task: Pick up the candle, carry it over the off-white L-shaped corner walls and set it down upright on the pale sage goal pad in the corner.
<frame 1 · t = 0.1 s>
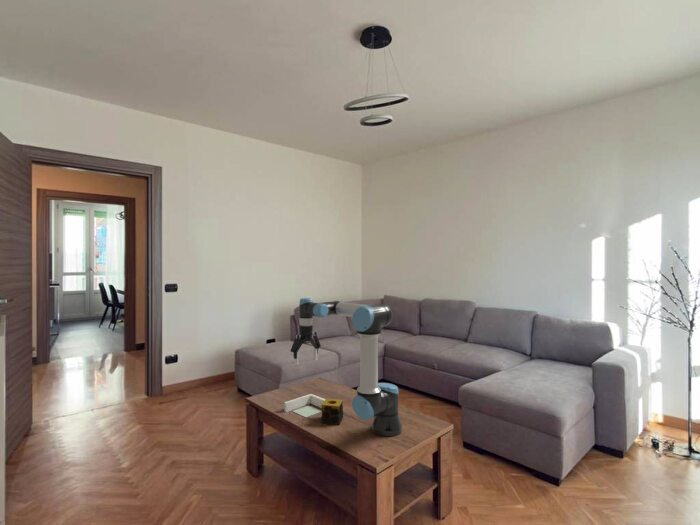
hand: (306, 361, 220), 28 cm above the table, fingers open, 13 cm apart
goal pad: (307, 411, 218), on the table
candle: (332, 421, 206), on the table
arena: (308, 411, 219), on the table
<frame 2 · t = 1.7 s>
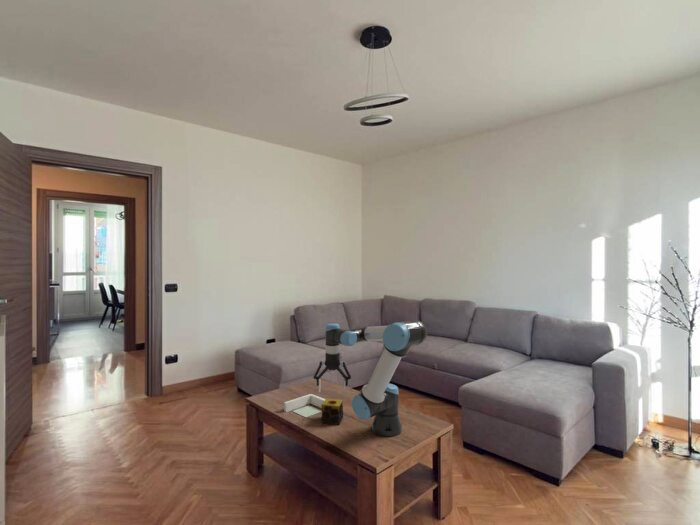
hand: (332, 391, 206), 15 cm above the table, fingers open, 13 cm apart
nothing on the table moved.
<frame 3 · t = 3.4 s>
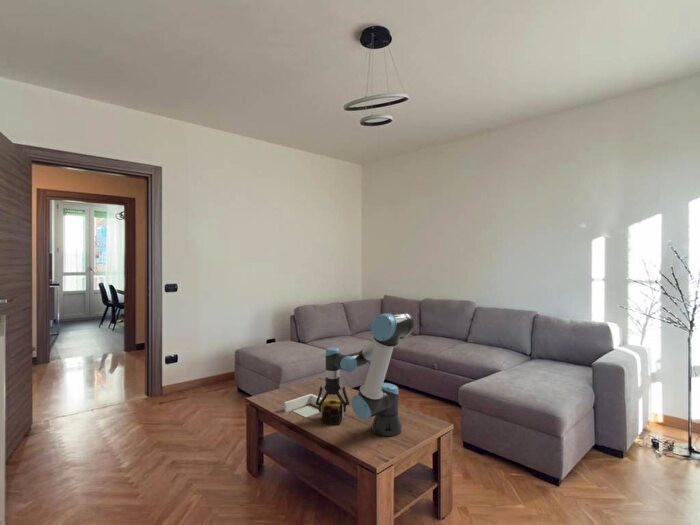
hand: (332, 417, 206), 1 cm above the table, fingers closed on candle, 11 cm apart
candle: (332, 420, 206), on the table, touching gripper
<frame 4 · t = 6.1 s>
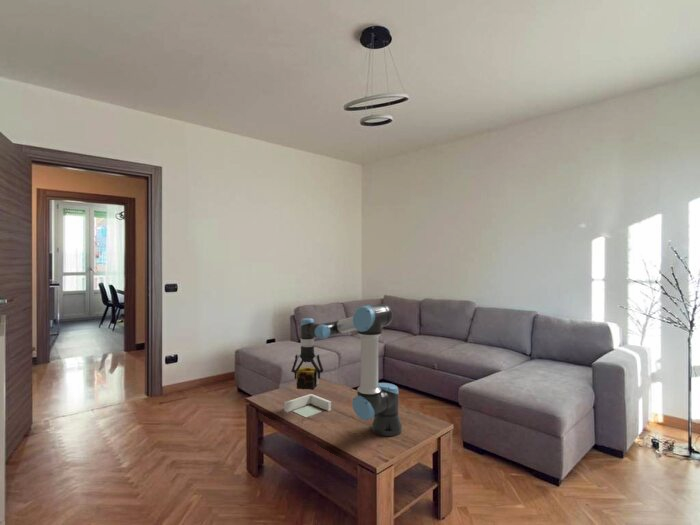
hand: (307, 384, 218), 16 cm above the table, fingers closed on candle, 11 cm apart
candle: (307, 387, 218), point 14 cm above the table, touching gripper
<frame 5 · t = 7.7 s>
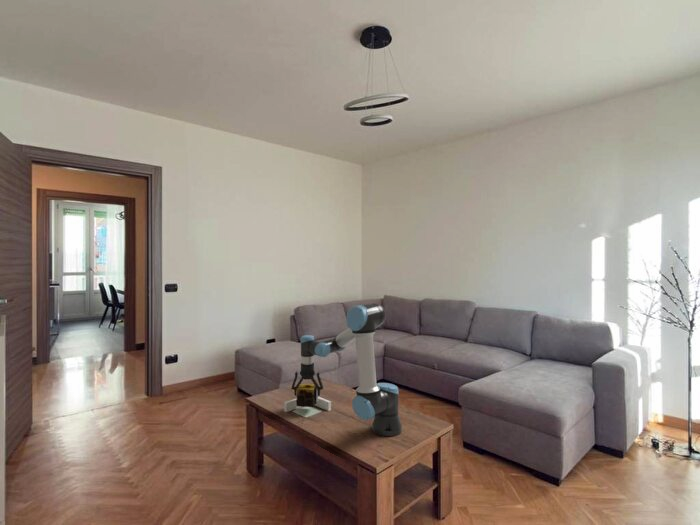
hand: (307, 401, 218), 6 cm above the table, fingers closed on candle, 11 cm apart
candle: (307, 404, 218), point 4 cm above the table, touching gripper
when the fingers open (3 cm above the table, at t = 8.9 s): candle drops 1 cm, resting on goal pad.
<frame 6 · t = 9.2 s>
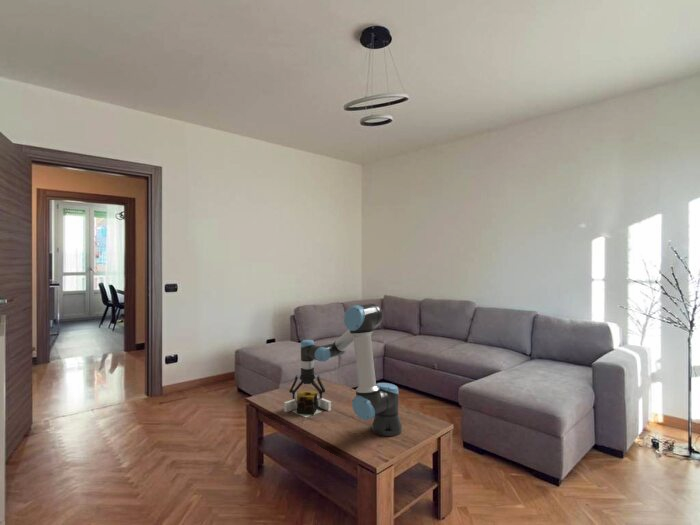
hand: (307, 404, 218), 4 cm above the table, fingers open, 13 cm apart
candle: (307, 411, 218), resting on goal pad
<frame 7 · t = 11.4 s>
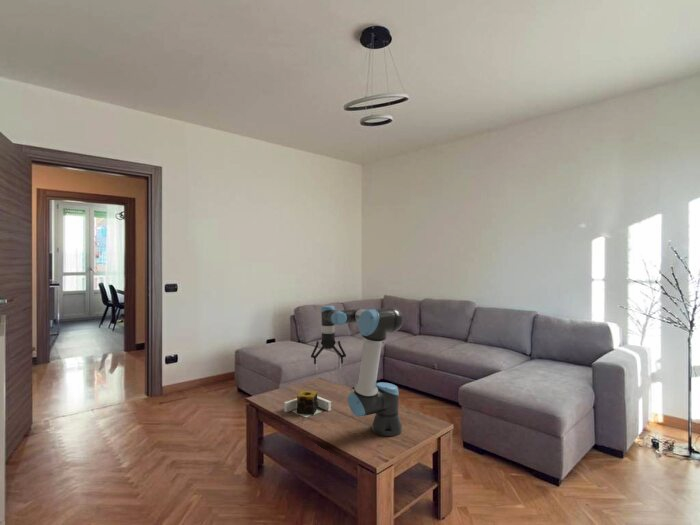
hand: (328, 369, 221), 23 cm above the table, fingers open, 13 cm apart
nothing on the table moved.
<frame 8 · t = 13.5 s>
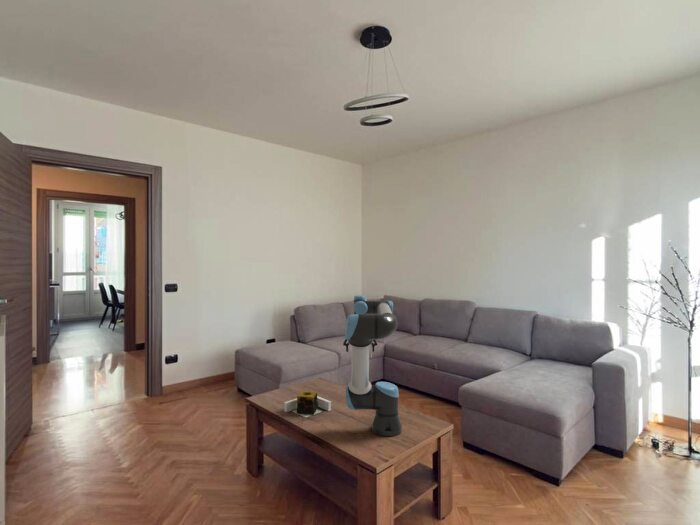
hand: (360, 357, 227), 29 cm above the table, fingers open, 13 cm apart
nothing on the table moved.
at the end: candle inside the target area (0.0 cm from its centre), resting on goal pad; candle tilted 0°; the gripper is holding nothing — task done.
